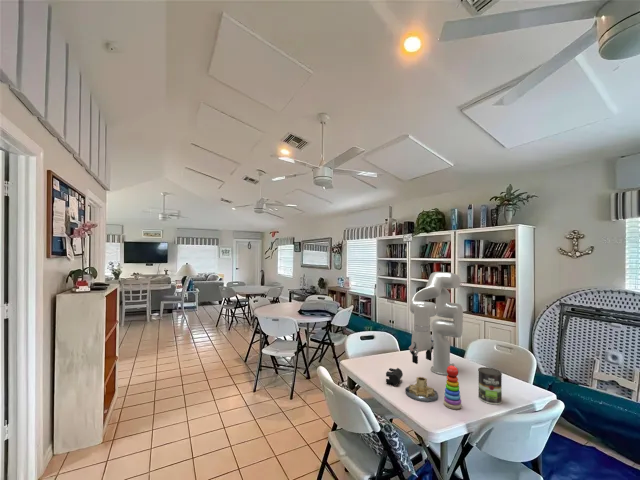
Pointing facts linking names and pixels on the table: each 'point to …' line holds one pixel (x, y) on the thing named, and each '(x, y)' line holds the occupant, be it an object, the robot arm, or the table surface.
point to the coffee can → (490, 385)
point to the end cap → (393, 376)
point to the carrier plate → (422, 399)
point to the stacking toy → (452, 389)
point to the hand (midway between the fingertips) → (421, 361)
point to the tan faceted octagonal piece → (421, 388)
